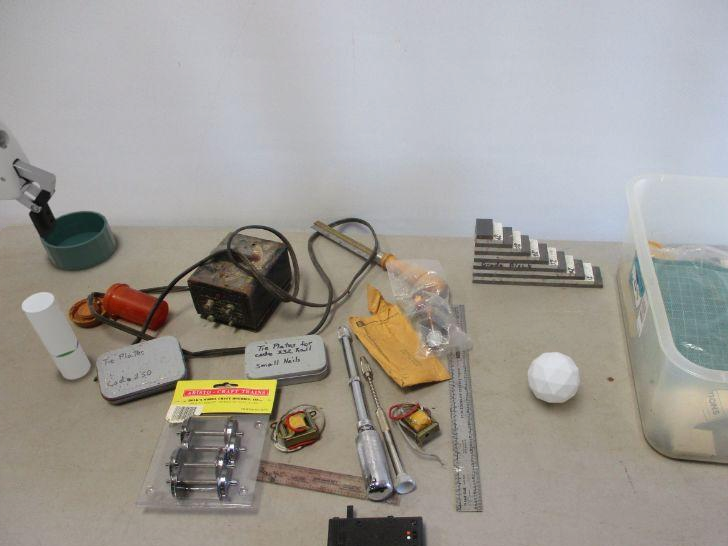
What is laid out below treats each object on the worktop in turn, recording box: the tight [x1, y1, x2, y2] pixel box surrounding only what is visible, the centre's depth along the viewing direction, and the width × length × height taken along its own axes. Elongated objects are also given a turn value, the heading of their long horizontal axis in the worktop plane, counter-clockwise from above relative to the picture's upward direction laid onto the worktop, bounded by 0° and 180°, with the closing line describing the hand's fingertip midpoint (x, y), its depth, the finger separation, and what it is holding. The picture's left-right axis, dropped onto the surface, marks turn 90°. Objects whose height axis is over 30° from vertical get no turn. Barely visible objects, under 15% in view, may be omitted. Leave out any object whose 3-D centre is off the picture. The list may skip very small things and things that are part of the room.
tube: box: [21, 291, 92, 381], centre depth 90 cm, size 4×4×15 cm
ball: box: [526, 351, 581, 404], centre depth 90 cm, size 8×8×8 cm
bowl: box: [39, 210, 117, 271], centre depth 116 cm, size 12×12×6 cm
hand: (13, 231), depth 77 cm, fingers open, 9 cm apart
